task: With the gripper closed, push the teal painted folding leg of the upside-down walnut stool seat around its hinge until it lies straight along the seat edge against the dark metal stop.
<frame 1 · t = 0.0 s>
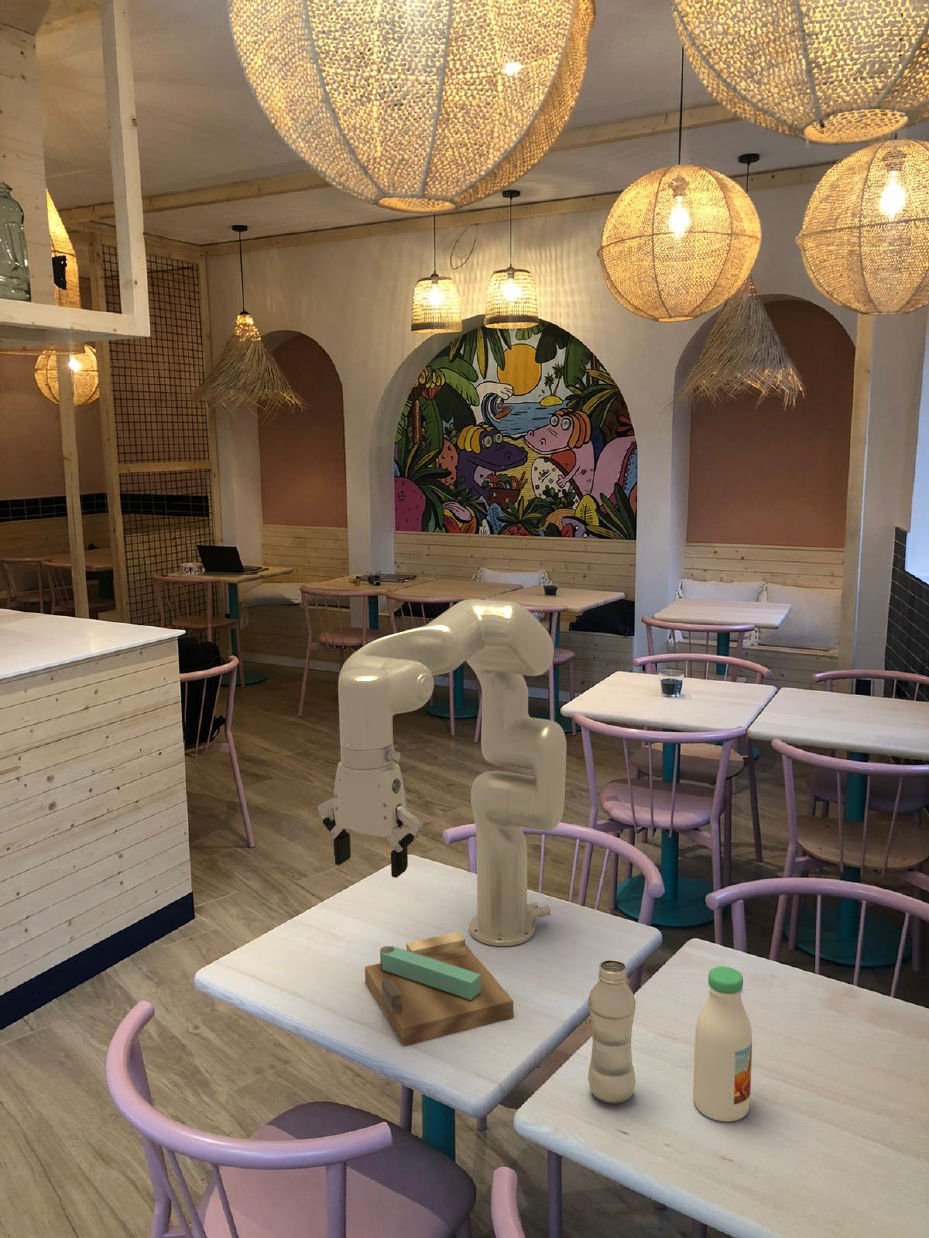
hand: (370, 867, 143), 31 cm above the table, tool pointing down, fingers open, 9 cm apart
milk bottle: (720, 1106, 137), on the table
folding leg: (427, 970, 164), point 5 cm above the table, hinge at 35.0°
stool seat: (436, 999, 164), on the table
plastic bottle: (611, 1096, 140), on the table
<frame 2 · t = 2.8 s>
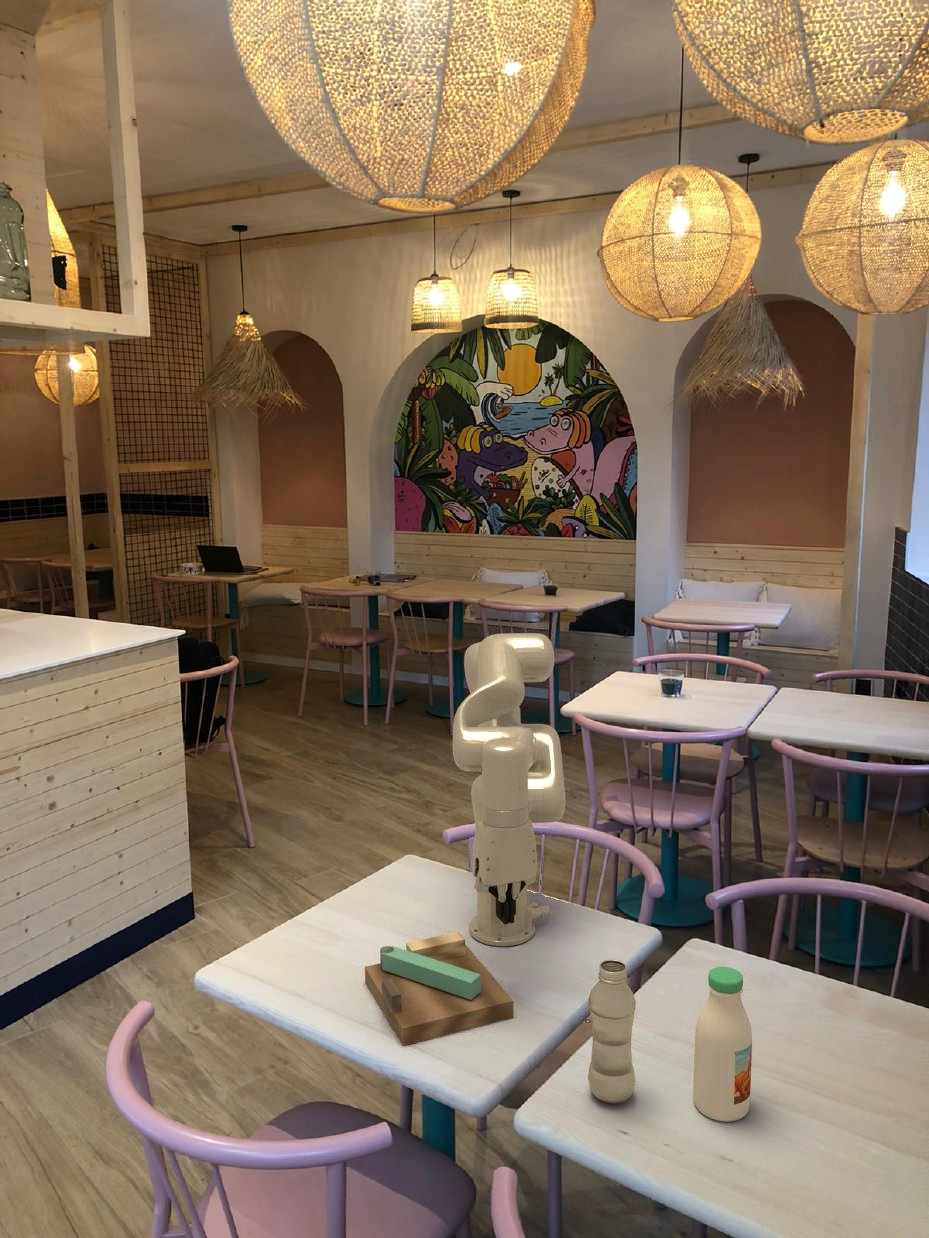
hand: (505, 920, 162), 14 cm above the table, tool pointing down, fingers closed
nothing on the table moved.
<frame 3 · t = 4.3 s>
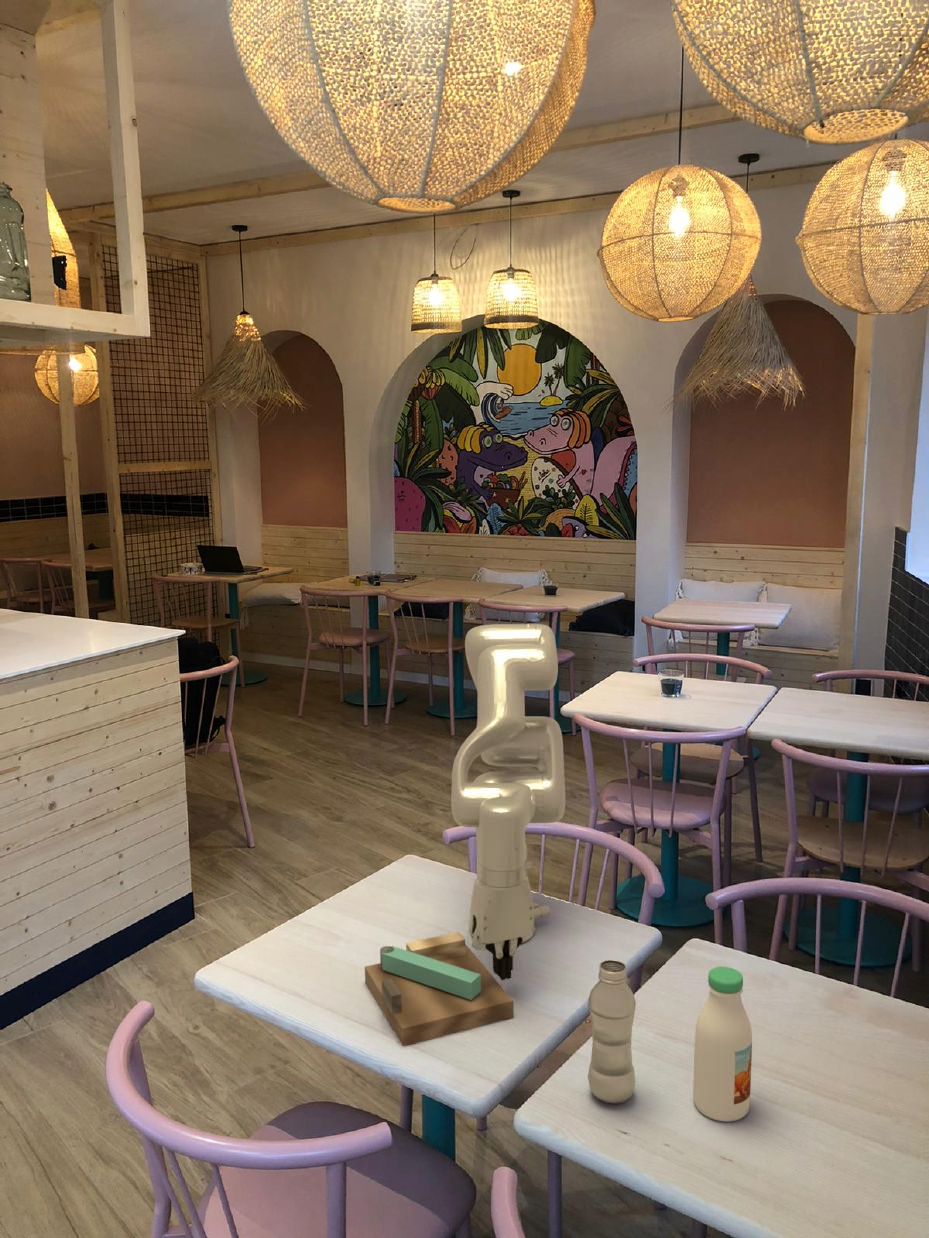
hand: (502, 975, 164), 4 cm above the table, tool pointing down, fingers closed
nothing on the table moved.
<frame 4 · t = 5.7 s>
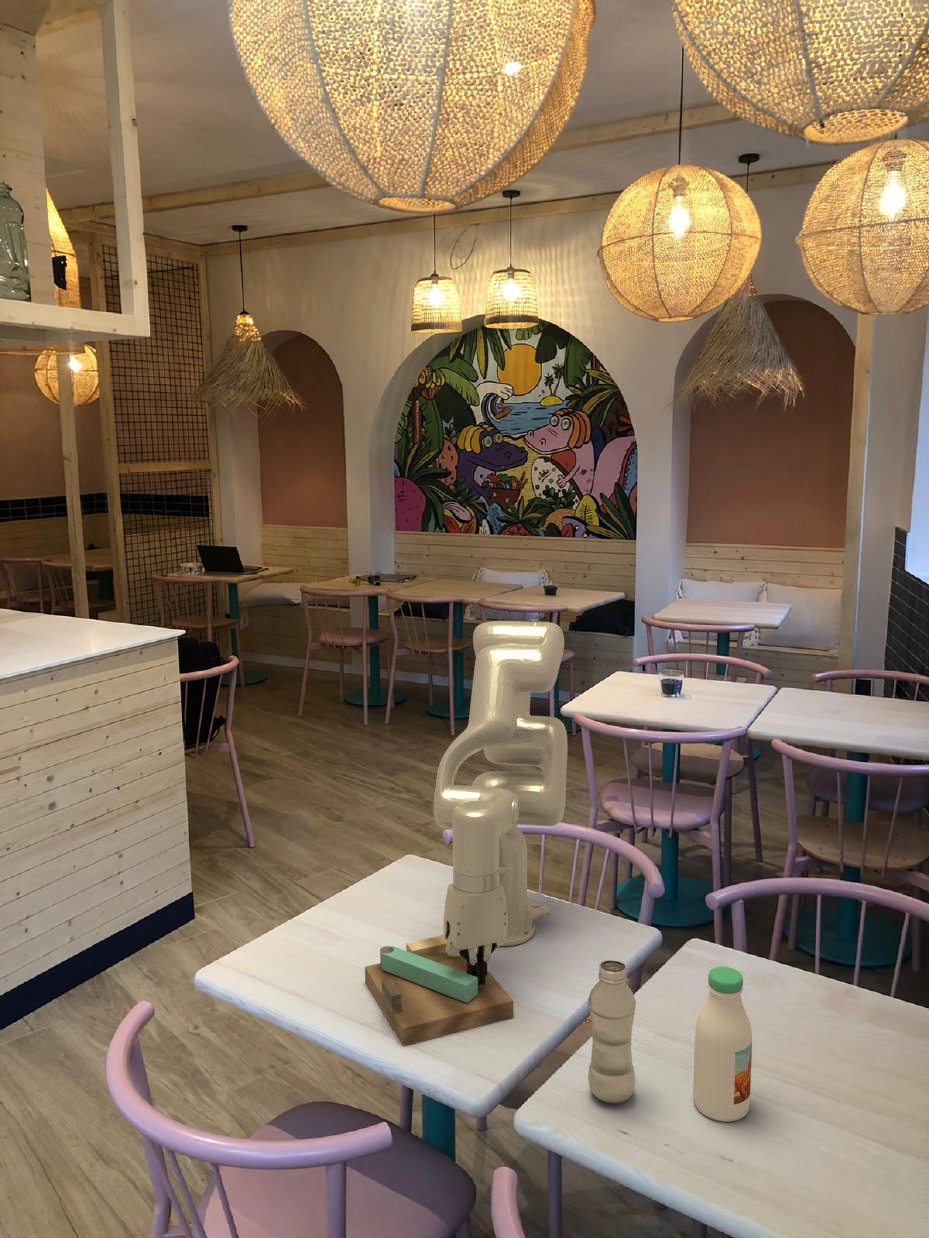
hand: (477, 981, 162), 4 cm above the table, tool pointing down, fingers closed
folding leg: (425, 972, 164), point 5 cm above the table, hinge at 31.6°
everything else where it was.
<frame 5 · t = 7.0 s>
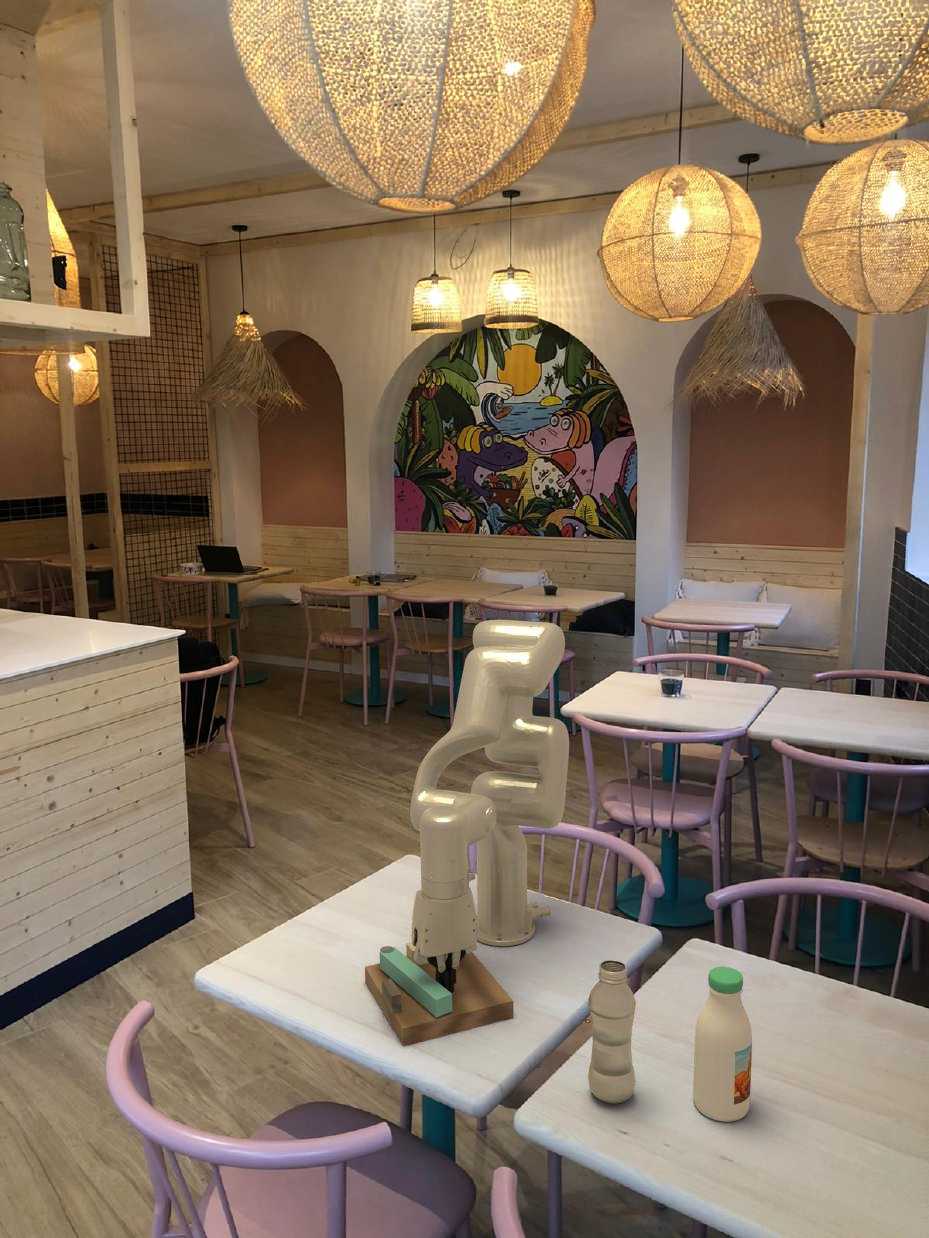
hand: (446, 988, 160), 4 cm above the table, tool pointing down, fingers closed
folding leg: (412, 978, 162), point 5 cm above the table, hinge at 11.5°, touching gripper
everything else where it was.
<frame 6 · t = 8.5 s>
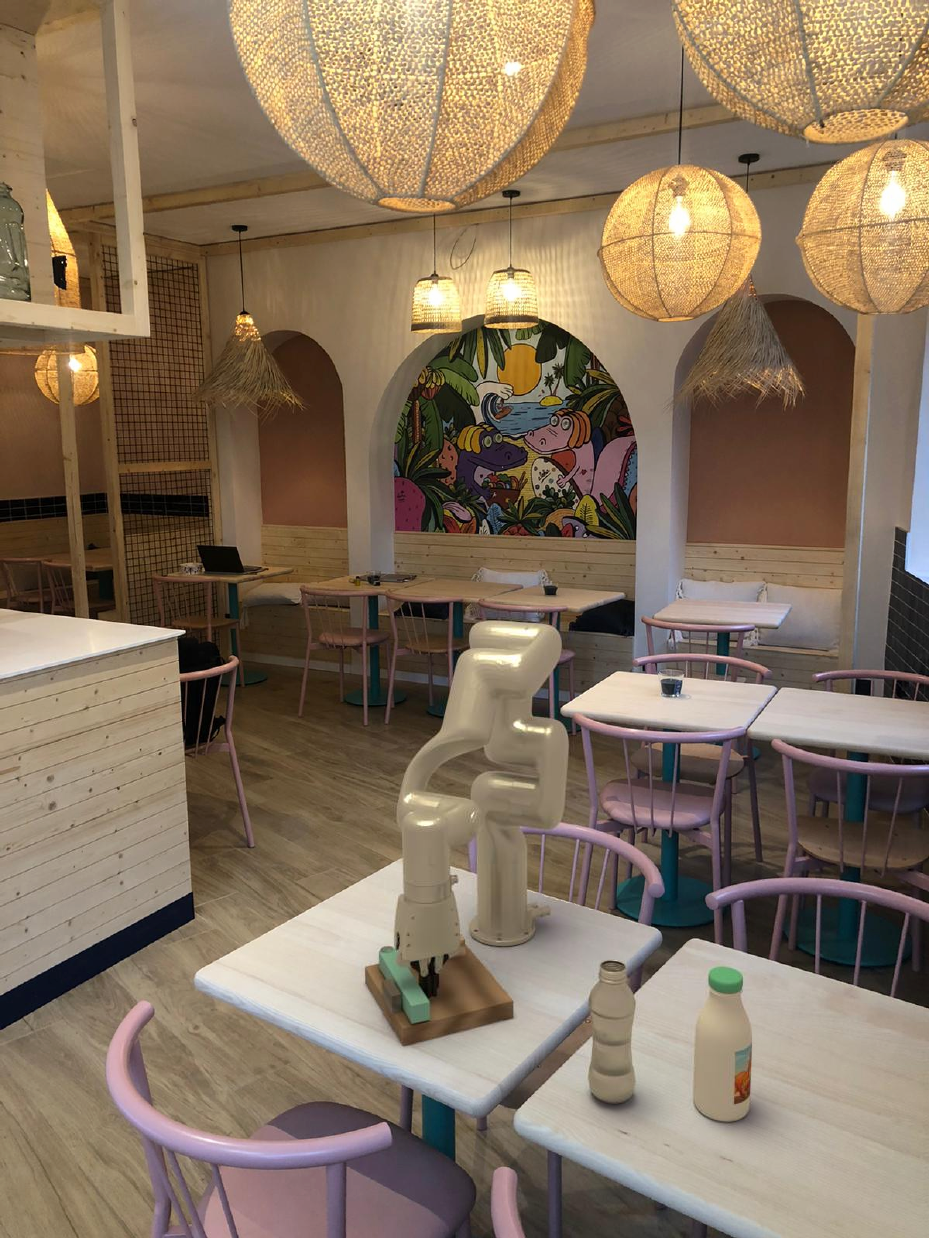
hand: (429, 992, 159), 4 cm above the table, tool pointing down, fingers closed
folding leg: (402, 981, 161), point 5 cm above the table, hinge at -1.5°, touching gripper
everything else where it was.
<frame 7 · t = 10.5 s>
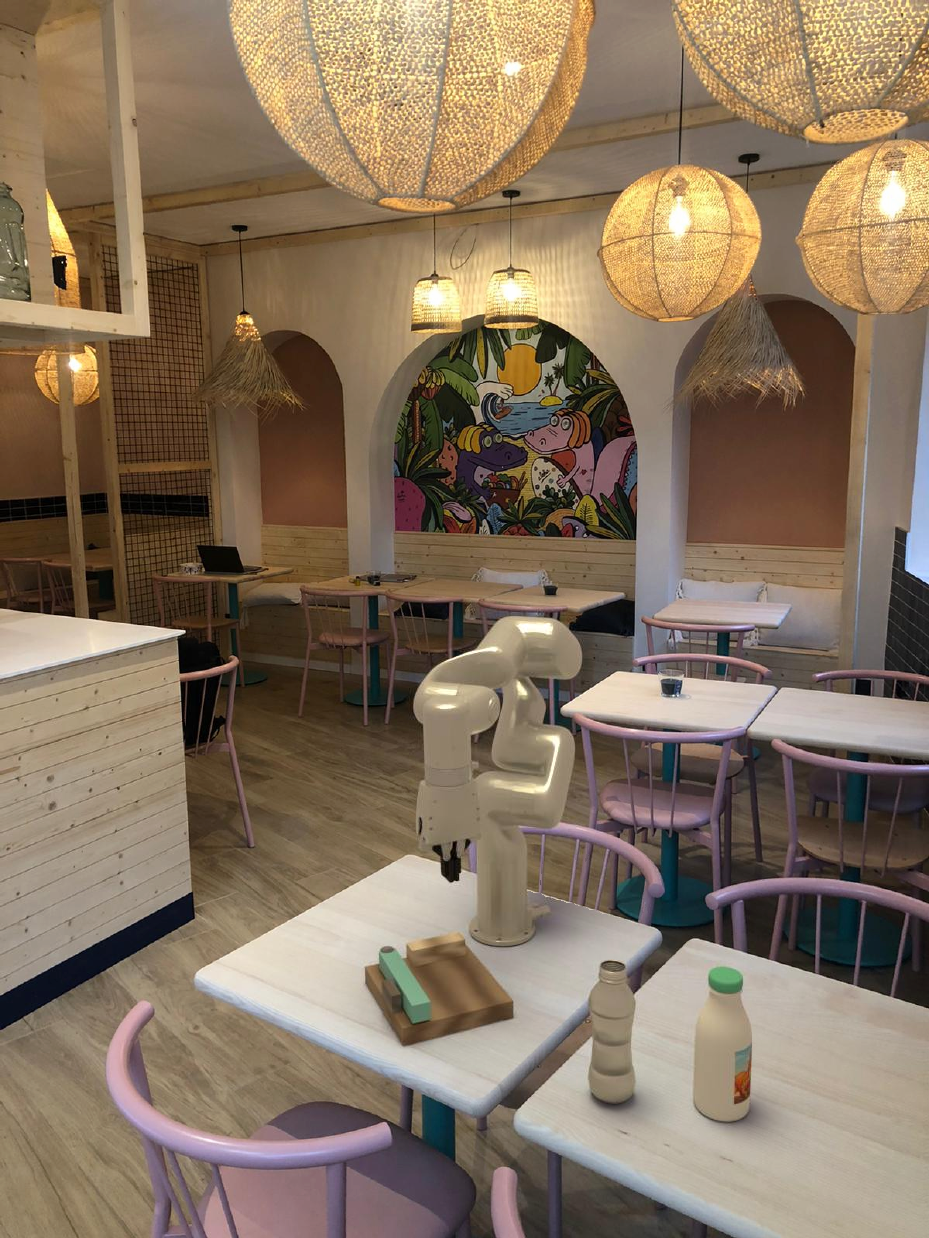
hand: (451, 878, 160), 22 cm above the table, tool pointing down, fingers closed
folding leg: (402, 981, 161), point 5 cm above the table, hinge at -1.0°
everything else where it was.
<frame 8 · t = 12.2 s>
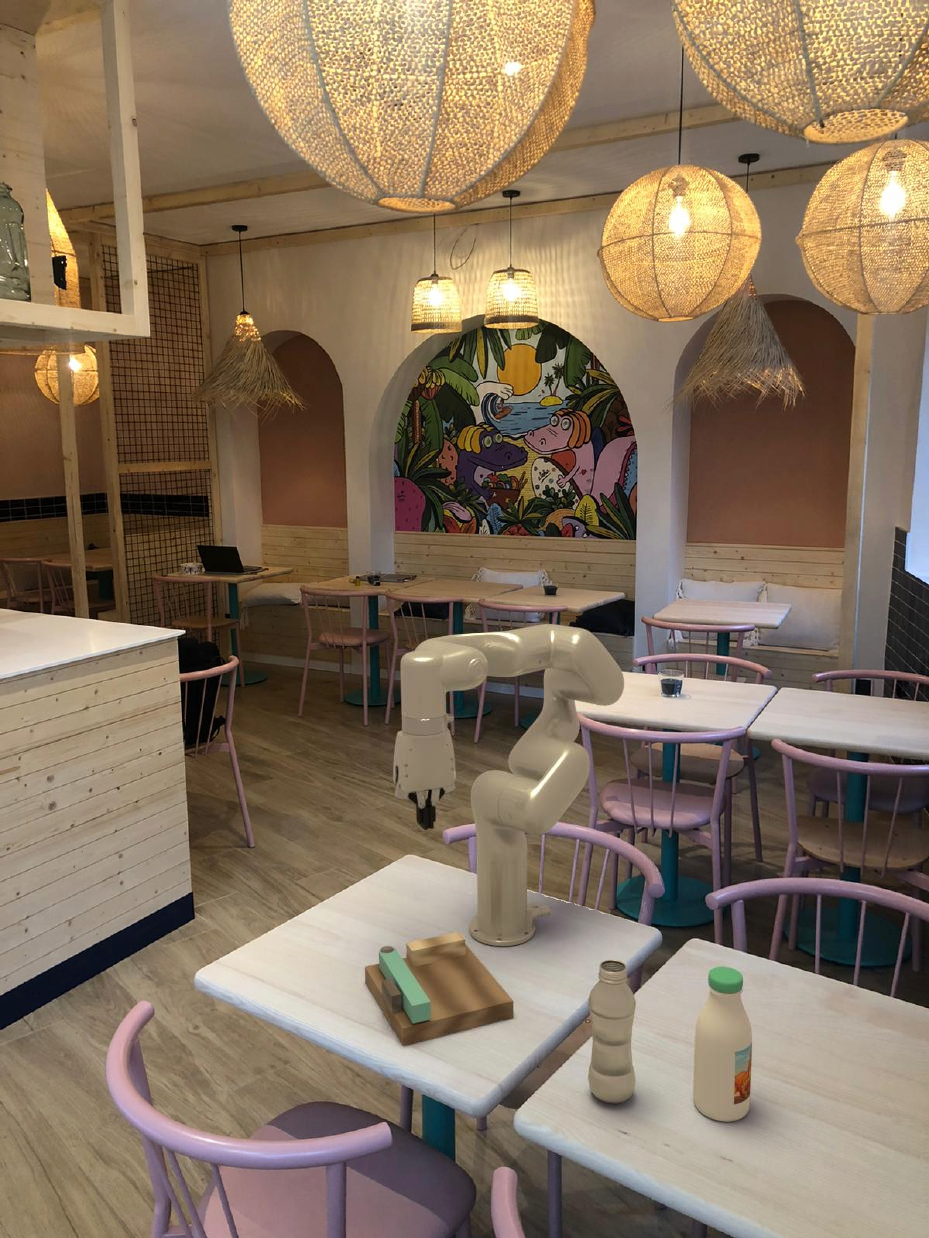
hand: (426, 826, 169), 27 cm above the table, tool pointing down, fingers closed
nothing on the table moved.
at the end: folding leg at -1° (first picture: +35°) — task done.
